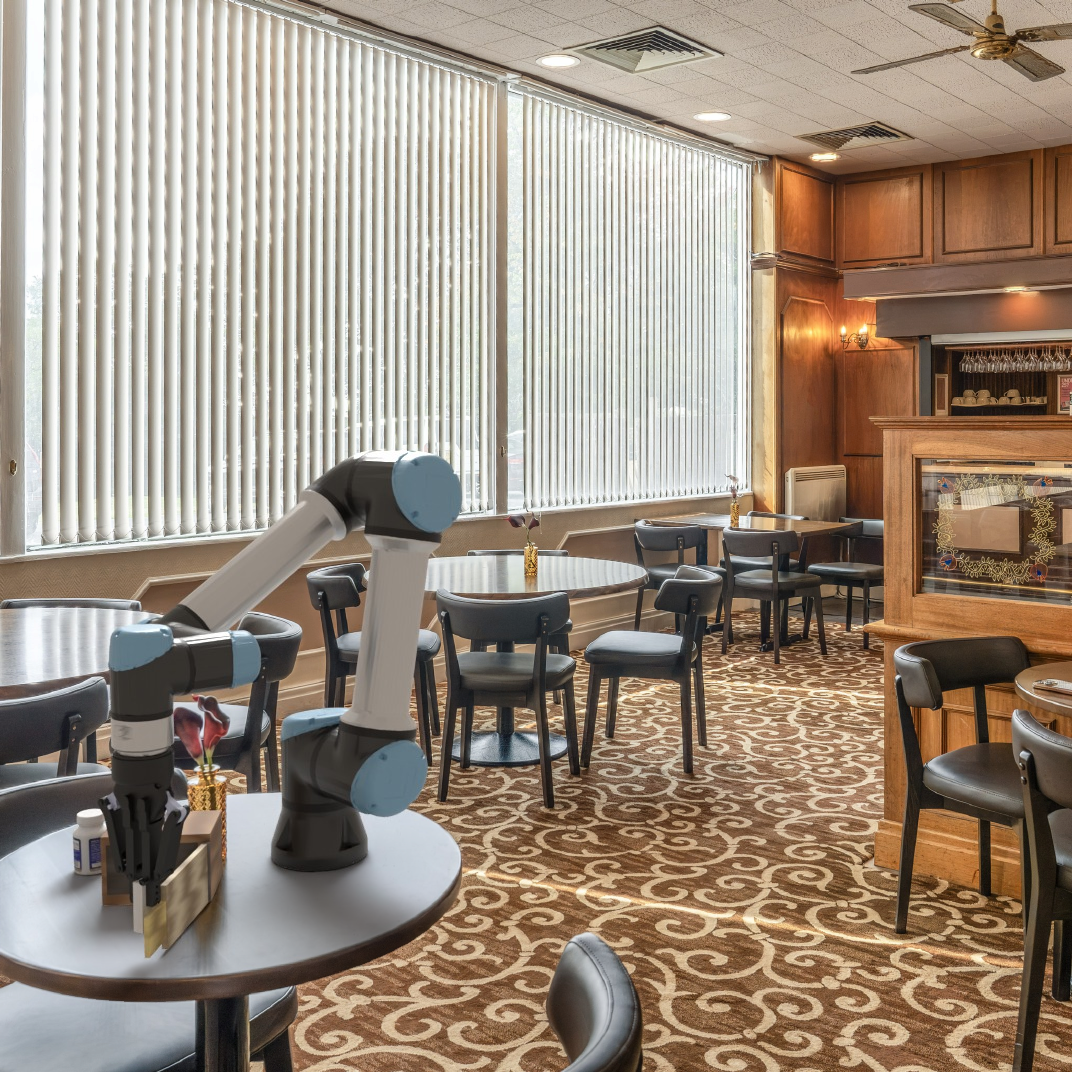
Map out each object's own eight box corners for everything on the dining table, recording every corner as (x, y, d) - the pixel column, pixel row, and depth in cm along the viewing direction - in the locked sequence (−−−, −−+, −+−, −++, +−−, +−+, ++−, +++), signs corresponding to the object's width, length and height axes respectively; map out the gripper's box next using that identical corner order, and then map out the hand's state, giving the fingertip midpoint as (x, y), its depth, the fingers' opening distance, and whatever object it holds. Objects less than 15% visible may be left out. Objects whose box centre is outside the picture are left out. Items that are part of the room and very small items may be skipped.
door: (204, 898, 160) (202, 841, 159) (212, 899, 160) (211, 841, 159) (142, 969, 139) (140, 903, 138) (152, 969, 139) (150, 903, 138)
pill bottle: (115, 862, 174) (114, 807, 174) (104, 875, 169) (102, 818, 168) (81, 863, 174) (79, 807, 173) (68, 876, 169) (66, 818, 168)
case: (222, 874, 170) (221, 810, 169) (211, 901, 160) (209, 833, 159) (120, 878, 168) (118, 813, 167) (102, 906, 158) (100, 837, 157)
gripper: (80, 749, 140) (84, 931, 142) (163, 762, 136) (166, 950, 138) (123, 735, 147) (126, 908, 149) (204, 746, 142) (206, 925, 145)
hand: (145, 928), depth 143 cm, fingers closed
